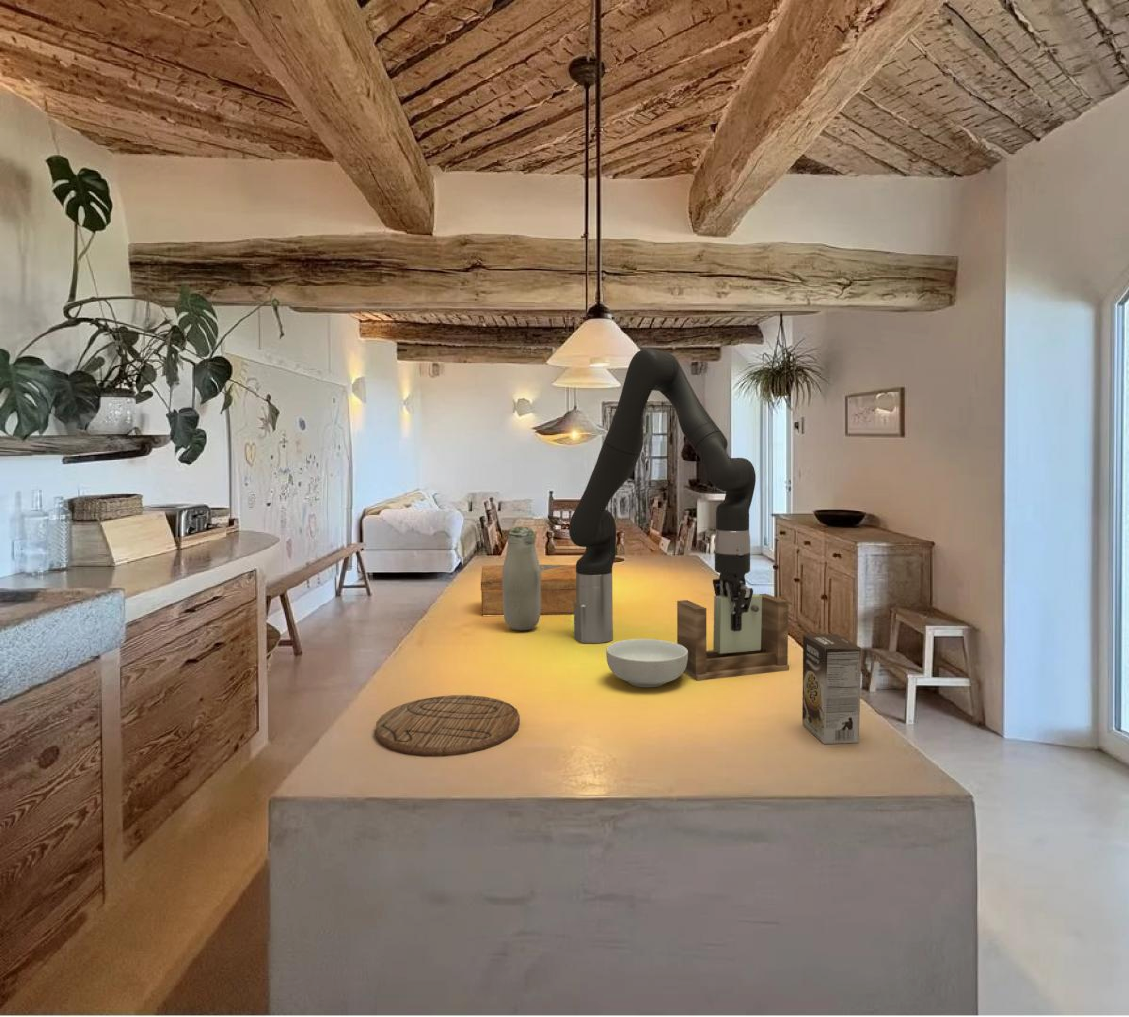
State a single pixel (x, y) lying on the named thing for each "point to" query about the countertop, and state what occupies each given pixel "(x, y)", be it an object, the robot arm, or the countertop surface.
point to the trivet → (447, 725)
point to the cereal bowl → (646, 661)
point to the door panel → (740, 639)
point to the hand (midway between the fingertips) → (732, 628)
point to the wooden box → (554, 589)
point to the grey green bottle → (521, 580)
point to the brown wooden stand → (735, 663)
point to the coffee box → (831, 688)
